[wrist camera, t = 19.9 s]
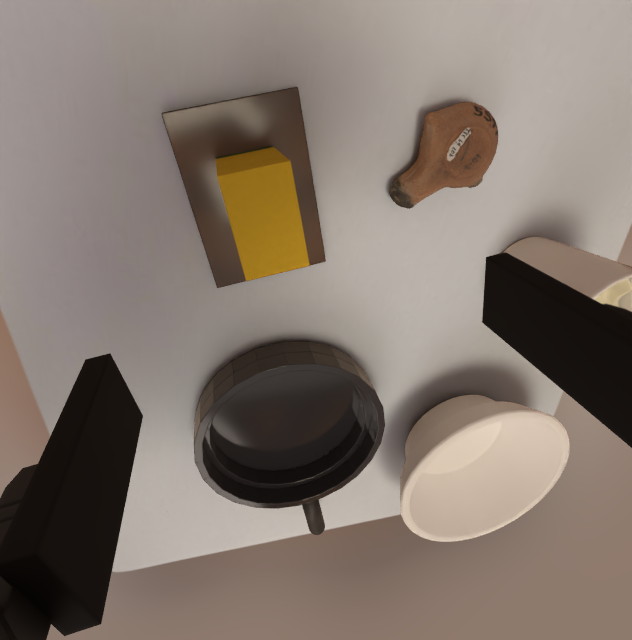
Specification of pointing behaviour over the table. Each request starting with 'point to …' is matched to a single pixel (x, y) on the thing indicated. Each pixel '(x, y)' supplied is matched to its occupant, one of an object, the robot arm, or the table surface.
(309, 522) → the pan handle
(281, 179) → the sponge
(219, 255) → the brown flat slab
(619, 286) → the candle holder
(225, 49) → the table surface
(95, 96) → the table surface
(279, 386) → the pan
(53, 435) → the robot arm
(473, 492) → the bowl
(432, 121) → the oil lamp
